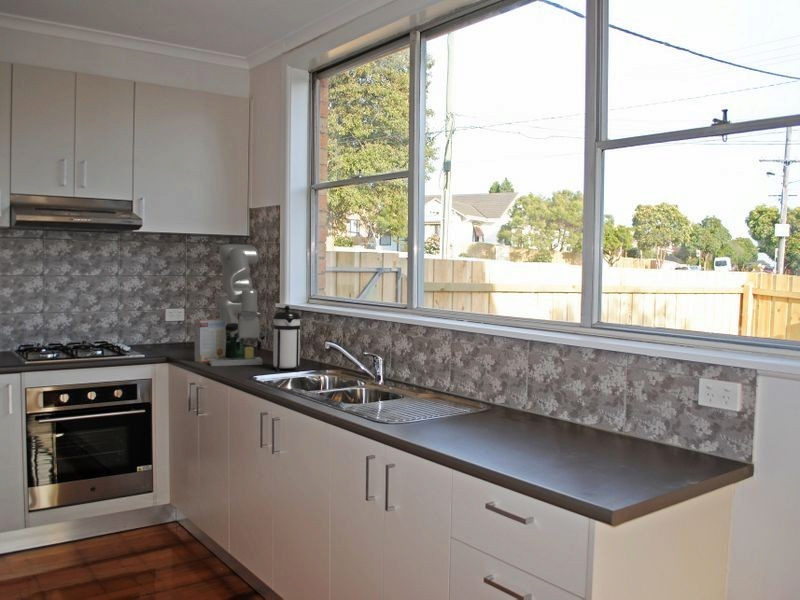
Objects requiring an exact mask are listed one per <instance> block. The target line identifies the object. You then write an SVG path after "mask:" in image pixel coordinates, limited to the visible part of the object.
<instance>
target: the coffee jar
mask: <svg viewBox="0 0 800 600" xmlns="http://www.w3.org/2000/svg"><path fill="white" fill-rule="evenodd" d="M237 329H238V324H237V323H229V324H227V325H226V329H225V331H226V351H225V358H240V357H244V338H241V339H240V341H239V342H240V350H237V348H236V341H235V340H234V339H233V338H232V336H231V332H233V331H235V330H237ZM234 336H235V337H236V338H238V333H236V334H234Z"/></svg>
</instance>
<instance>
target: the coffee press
mask: <svg viewBox="0 0 800 600" xmlns="http://www.w3.org/2000/svg"><path fill="white" fill-rule="evenodd" d="M272 317H273V324H272V326H273V327H272V329H273V345H272V346H273V351H272V352H273V353H272V354H273V356H272V357H273V359H272V360H273V362H272V363H273V364H272V366H271V367H272V369H273V368H275V371H276V370H280V371H281V370H282V369H295V370H296V369H298V370H299V369H300V370H301V367H300V350H301V349H300V346H301V345H300V343H301V342H300V340H301V339H300V338H301V319H302V317H301V315H300V313H299V312H297V311H294V310H290V306H289V305H285V306H284V310H278V311H276V312H275V313H274V314H273V316H272ZM295 367H296V368H295Z"/></svg>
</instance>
